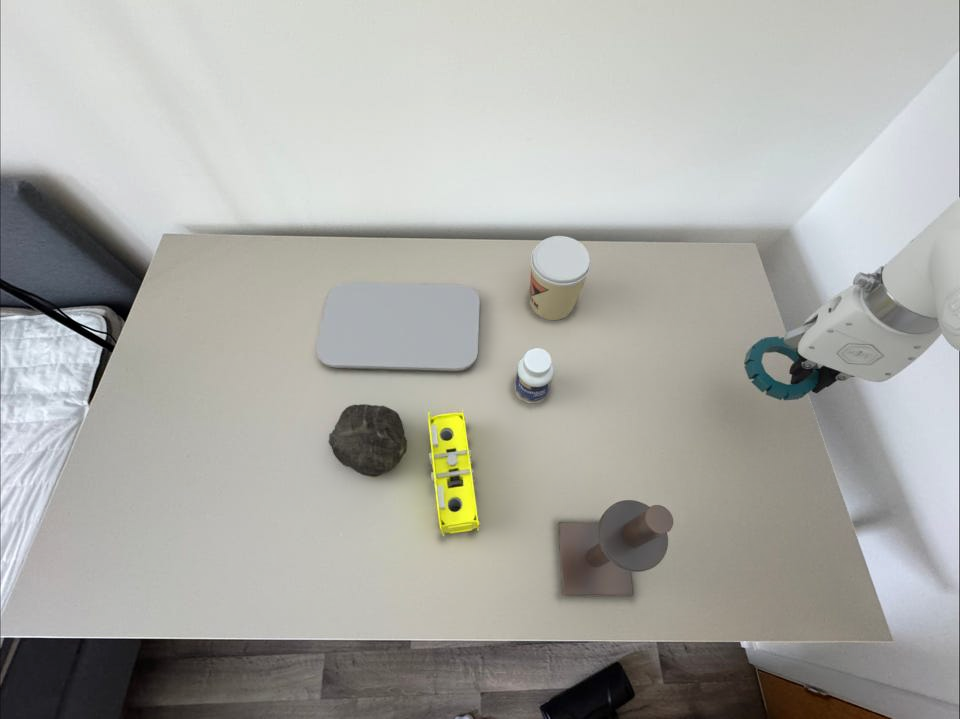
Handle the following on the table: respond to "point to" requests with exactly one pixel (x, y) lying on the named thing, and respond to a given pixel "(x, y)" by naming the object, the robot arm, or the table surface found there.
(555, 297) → the beige lidded canister
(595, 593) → the stand
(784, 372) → the table surface
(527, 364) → the pill bottle
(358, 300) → the tablet
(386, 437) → the rock
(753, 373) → the ring
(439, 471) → the yellow toy chassis
